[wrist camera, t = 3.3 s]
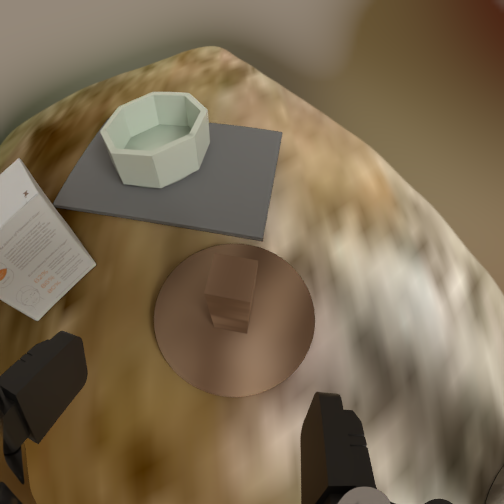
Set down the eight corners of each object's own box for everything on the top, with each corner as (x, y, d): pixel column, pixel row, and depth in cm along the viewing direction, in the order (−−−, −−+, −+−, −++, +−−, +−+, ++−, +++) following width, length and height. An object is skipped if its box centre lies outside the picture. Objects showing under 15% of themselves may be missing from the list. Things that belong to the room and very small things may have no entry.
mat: (281, 135, 33) (282, 132, 32) (262, 240, 26) (262, 238, 26) (109, 121, 34) (108, 118, 34) (54, 207, 27) (52, 204, 27)
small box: (72, 229, 26) (21, 154, 17) (98, 266, 25) (40, 190, 15) (16, 281, 23) (-50, 223, 14) (37, 323, 22) (-42, 272, 12)
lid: (318, 263, 26) (346, 206, 19) (300, 408, 20) (331, 409, 13) (180, 239, 26) (161, 176, 19) (140, 375, 21) (95, 358, 14)
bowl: (217, 129, 32) (215, 94, 28) (190, 196, 28) (184, 159, 23) (138, 124, 33) (130, 92, 29) (101, 185, 28) (85, 152, 24)
